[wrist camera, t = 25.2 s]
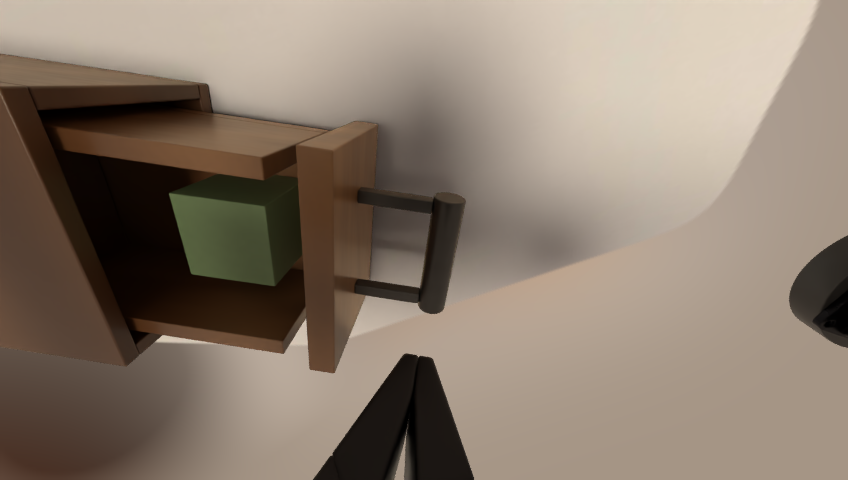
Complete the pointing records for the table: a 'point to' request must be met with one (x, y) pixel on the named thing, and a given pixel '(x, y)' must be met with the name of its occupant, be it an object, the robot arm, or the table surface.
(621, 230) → the table surface
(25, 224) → the cabinet
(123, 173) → the drawer
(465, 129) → the table surface
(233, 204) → the block
